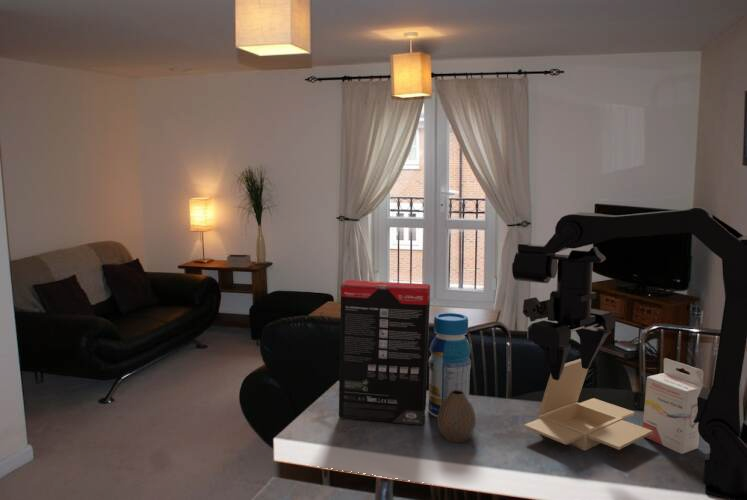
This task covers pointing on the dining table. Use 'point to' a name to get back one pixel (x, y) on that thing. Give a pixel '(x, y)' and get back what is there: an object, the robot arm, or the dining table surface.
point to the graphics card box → (384, 351)
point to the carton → (589, 425)
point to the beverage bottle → (448, 359)
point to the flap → (564, 387)
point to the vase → (456, 417)
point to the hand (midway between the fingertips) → (570, 373)
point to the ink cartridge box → (673, 406)
